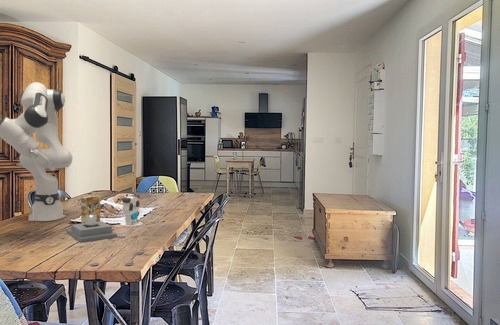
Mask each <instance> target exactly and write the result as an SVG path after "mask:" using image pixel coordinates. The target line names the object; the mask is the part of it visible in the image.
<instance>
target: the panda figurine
mask: <svg viewBox="0 0 500 325" xmlns="http://www.w3.org/2000/svg"><path fill="white" fill-rule="evenodd" d="M139 209H140V194H139V195H137V194H132V195H131V196H127V197H122V211H123V214H124V219H125V221H124V222H122V223H120V226H121V227H127V228H128V227H129V228H130V227H133V228H134V227H139V226H142V225H143V222H141V221H139V216H140V211H139Z"/></svg>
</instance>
